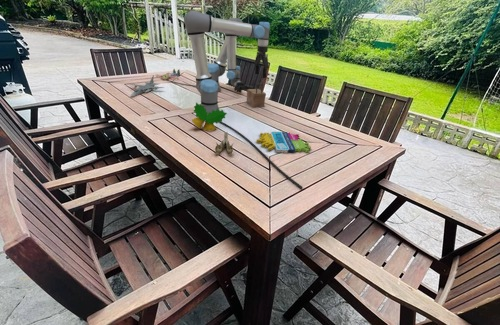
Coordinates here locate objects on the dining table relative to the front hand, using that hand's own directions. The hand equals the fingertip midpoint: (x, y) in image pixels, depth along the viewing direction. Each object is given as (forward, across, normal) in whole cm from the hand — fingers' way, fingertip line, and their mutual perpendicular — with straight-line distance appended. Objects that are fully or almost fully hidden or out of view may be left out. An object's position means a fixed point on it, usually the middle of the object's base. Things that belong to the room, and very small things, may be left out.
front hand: (260, 76), depth 200 cm
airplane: (+24, +59, +82) cm, 104 cm away
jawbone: (+24, -69, +51) cm, 89 cm away
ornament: (+24, -37, +50) cm, 67 cm away
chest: (+24, +5, 0) cm, 25 cm away
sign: (+24, -68, +15) cm, 74 cm away
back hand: (+18, +23, -1) cm, 29 cm away
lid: (+14, +5, 0) cm, 15 cm away
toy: (+24, +114, +53) cm, 128 cm away
